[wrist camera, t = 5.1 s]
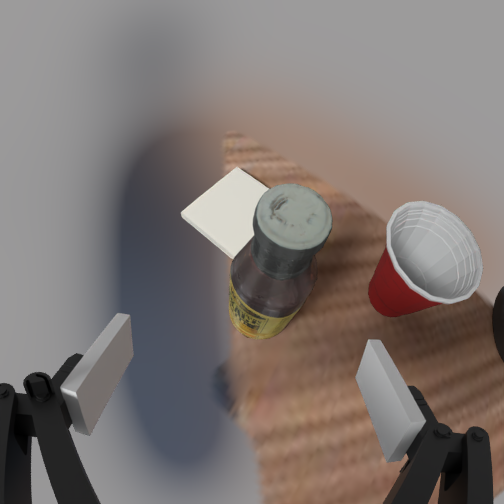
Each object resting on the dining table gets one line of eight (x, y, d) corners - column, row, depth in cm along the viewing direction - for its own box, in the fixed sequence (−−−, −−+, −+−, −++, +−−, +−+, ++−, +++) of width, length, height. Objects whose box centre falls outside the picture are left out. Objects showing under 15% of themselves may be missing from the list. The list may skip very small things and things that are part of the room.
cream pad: (296, 213, 40) (297, 209, 39) (242, 267, 36) (242, 263, 35) (236, 171, 43) (236, 166, 42) (181, 217, 39) (180, 212, 38)
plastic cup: (379, 237, 39) (421, 178, 29) (437, 293, 36) (494, 250, 25) (327, 291, 35) (366, 239, 25) (393, 356, 32) (456, 329, 22)
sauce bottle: (220, 298, 34) (210, 174, 17) (273, 279, 36) (312, 149, 18) (243, 354, 32) (257, 282, 14) (298, 332, 33) (371, 240, 15)
